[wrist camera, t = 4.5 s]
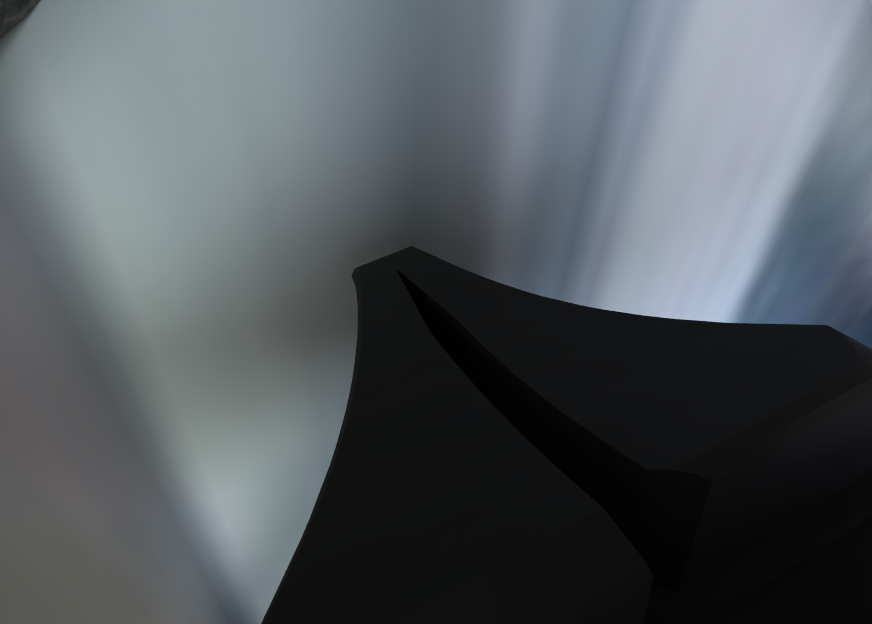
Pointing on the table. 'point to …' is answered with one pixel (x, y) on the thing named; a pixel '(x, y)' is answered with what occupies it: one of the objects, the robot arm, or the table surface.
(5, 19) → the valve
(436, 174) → the table surface
